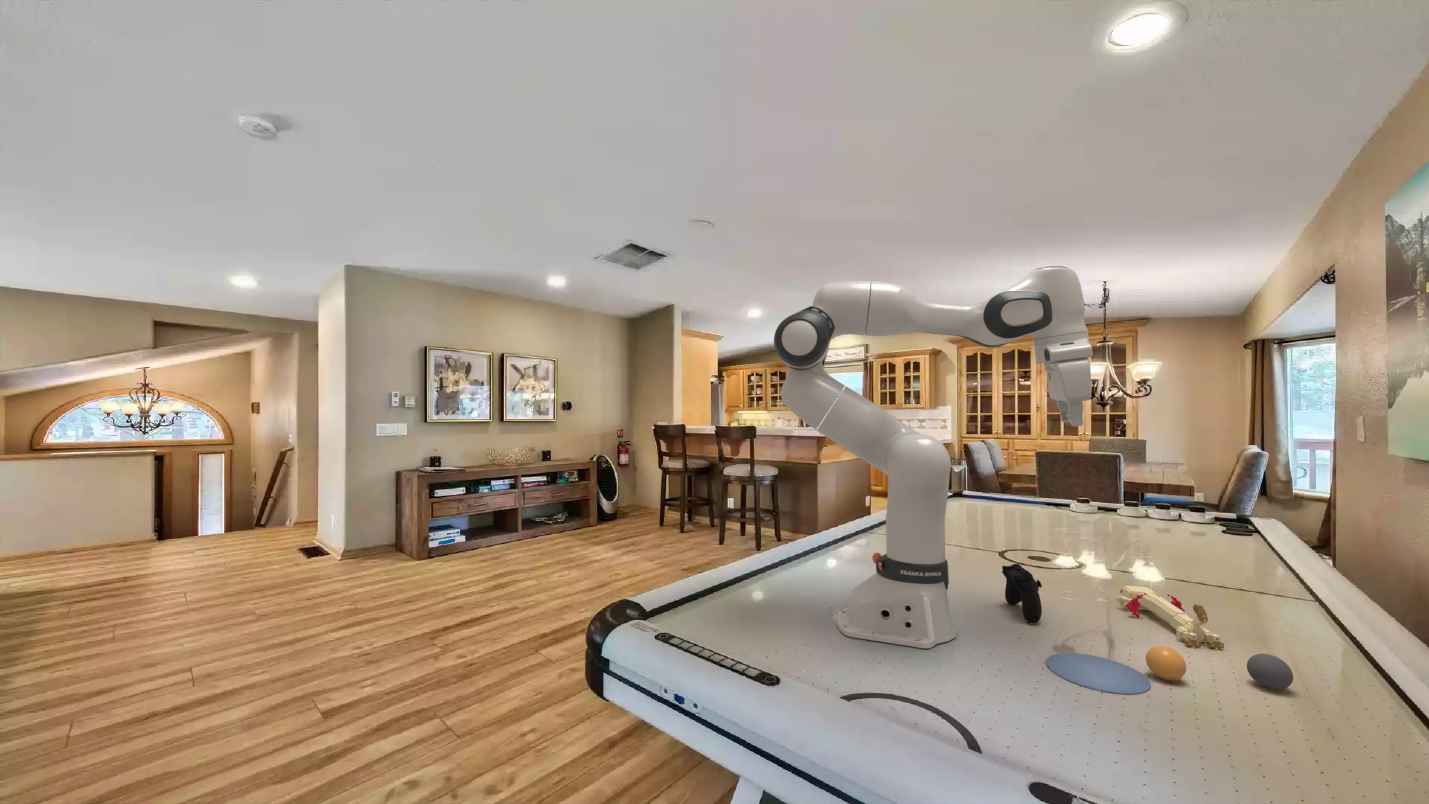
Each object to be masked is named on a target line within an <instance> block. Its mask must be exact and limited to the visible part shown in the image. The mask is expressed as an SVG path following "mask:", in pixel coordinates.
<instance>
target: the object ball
mask: <svg viewBox="0 0 1429 804" xmlns="http://www.w3.org/2000/svg"><path fill="white" fill-rule="evenodd" d="M1145 663H1146V665H1147V667H1148V669H1149V670H1150V671H1151V672H1152V673H1153V674H1154V675H1155V676H1156V677H1158V678H1160V679H1163V680H1166V681H1176V680H1177V681H1178V680H1179V679H1181V678H1183V677H1184V676H1185V675H1186V672H1187V664H1186V661H1185V659H1184V657H1183V656H1182V655H1181V654H1180V653H1179V652H1178V651H1177V650H1175V649H1173V648H1171V647H1169V646H1165V645H1156V646H1153V647H1150V648H1149V649H1148V650H1147V651H1146V655H1145Z"/></svg>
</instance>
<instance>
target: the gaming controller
mask: <svg viewBox="0 0 1429 804" xmlns="http://www.w3.org/2000/svg"><path fill="white" fill-rule="evenodd" d="M1001 569H1002V571H1001V573H1002V574H1003V576H1004V577H1005V580H1006V581H1005V582H1006V583H1005V590H1004V599H1005V601H1006V603H1007V604H1008V605H1010V606H1015V605H1017V604H1020V603H1021V611H1022V616H1023V619H1024V620H1025V622H1027V623H1028V624H1030V623H1032V624H1031V625H1035V624H1037V623H1039V622H1040V620H1041V618H1042V613H1043V609H1042V608H1043V607H1042V601H1041V597H1040V593H1039V589H1041V588H1042V587H1043V586H1042V583H1041V581H1040V579H1037V580H1036V579H1034V576H1033V574H1032V573H1031V572H1030V571H1029V570H1027V569H1025V568H1024V567H1022V565H1020V563H1013V564H1011V565H1002V567H1001Z"/></svg>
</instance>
